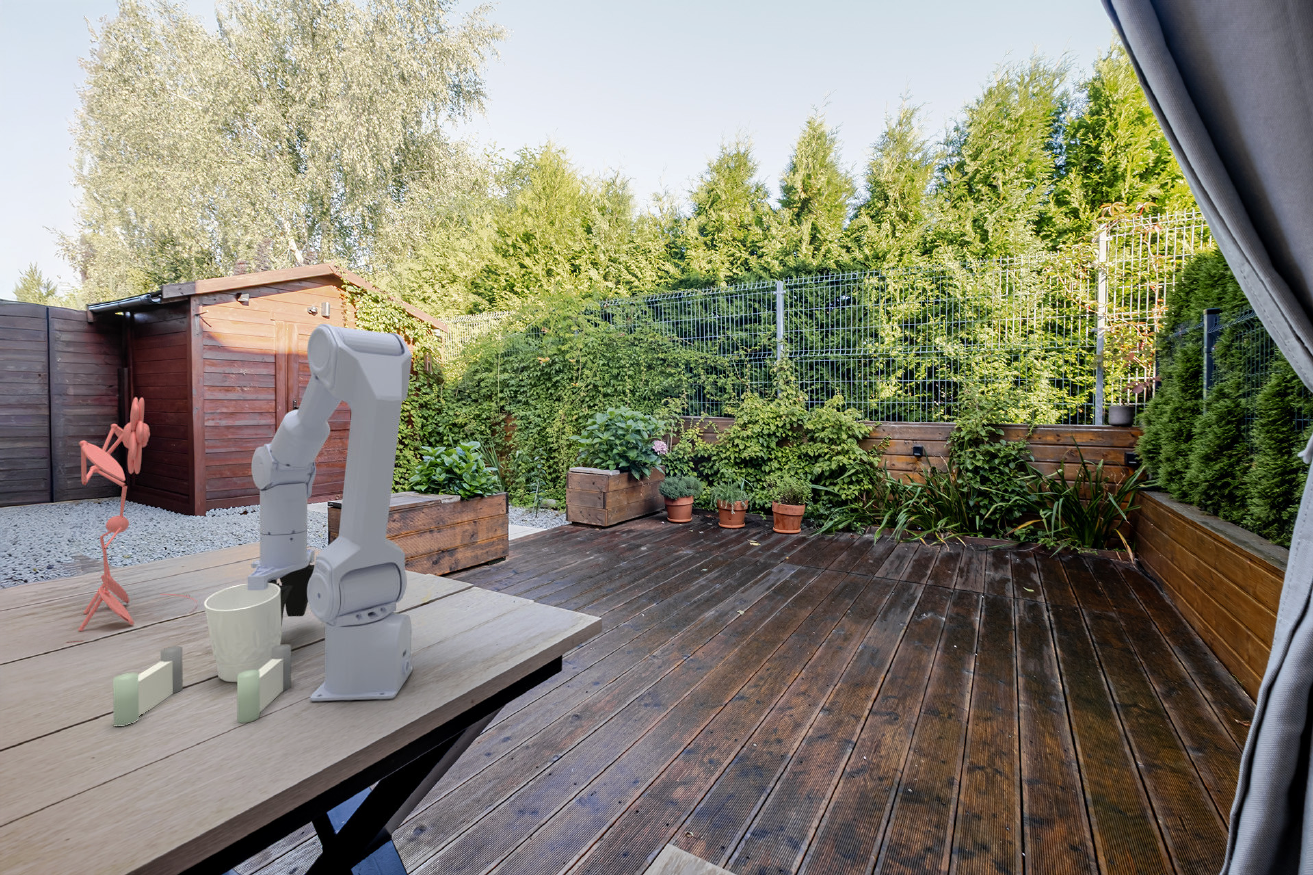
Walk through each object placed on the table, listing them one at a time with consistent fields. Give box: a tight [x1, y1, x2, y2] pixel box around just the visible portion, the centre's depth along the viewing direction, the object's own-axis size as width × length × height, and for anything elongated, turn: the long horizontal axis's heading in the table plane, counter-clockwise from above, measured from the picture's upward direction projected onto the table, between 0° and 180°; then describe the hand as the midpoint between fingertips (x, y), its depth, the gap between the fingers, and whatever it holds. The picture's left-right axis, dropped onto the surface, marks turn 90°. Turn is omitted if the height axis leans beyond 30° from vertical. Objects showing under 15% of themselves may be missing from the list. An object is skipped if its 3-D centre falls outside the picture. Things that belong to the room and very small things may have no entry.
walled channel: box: [112, 643, 292, 726], centre depth 67 cm, size 14×9×5 cm, turn 97°
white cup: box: [203, 582, 282, 683], centre depth 74 cm, size 8×8×10 cm
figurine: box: [66, 396, 197, 644], centre depth 93 cm, size 15×26×35 cm, turn 41°
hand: (283, 624), depth 83 cm, fingers open, 7 cm apart
